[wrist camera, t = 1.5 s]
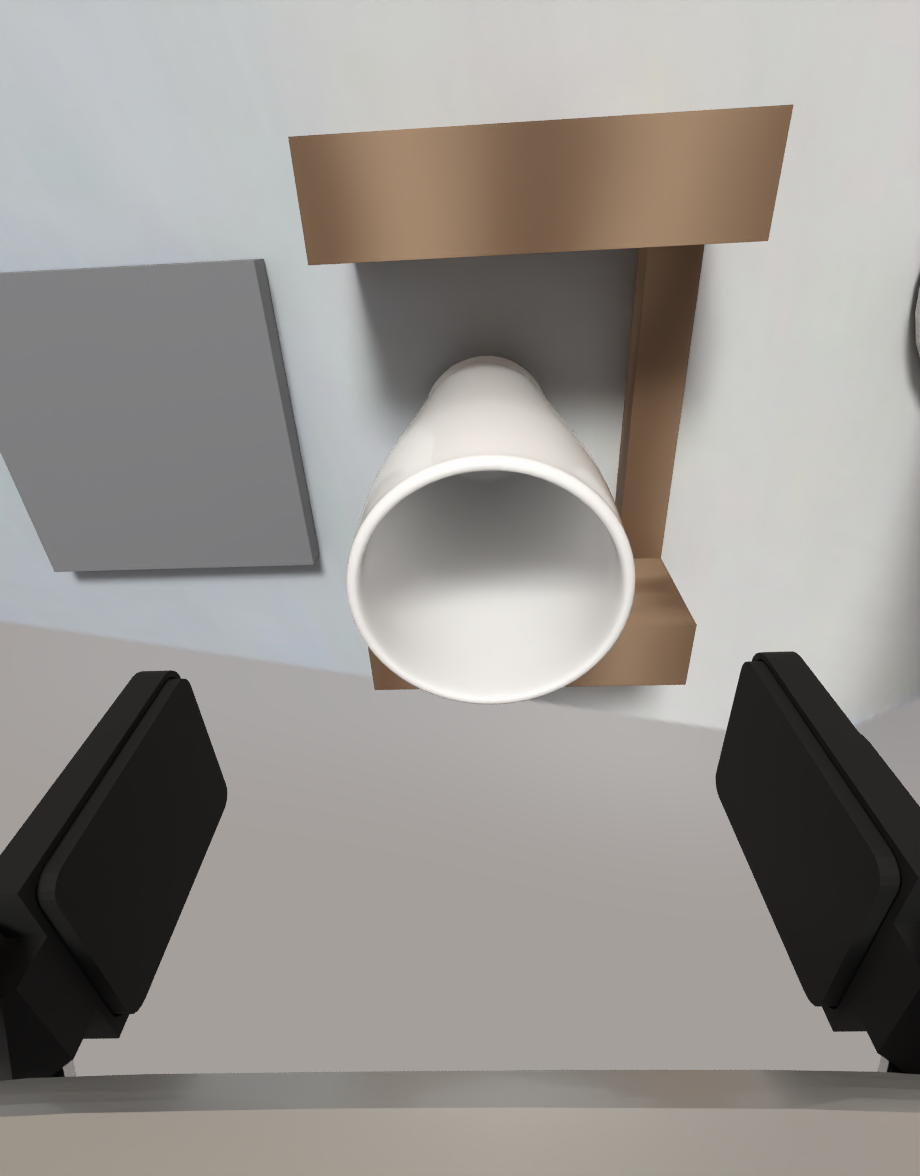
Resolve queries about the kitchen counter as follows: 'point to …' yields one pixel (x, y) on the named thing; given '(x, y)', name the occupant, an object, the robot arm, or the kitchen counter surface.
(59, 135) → the kitchen counter surface
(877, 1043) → the robot arm
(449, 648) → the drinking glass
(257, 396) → the slate board
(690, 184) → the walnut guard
